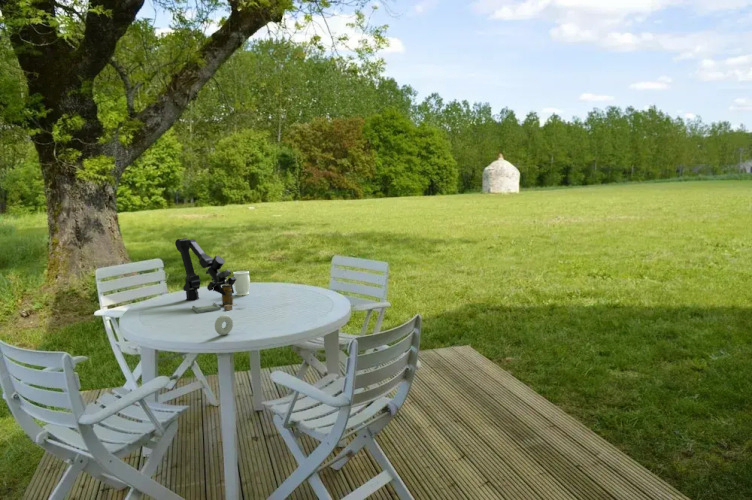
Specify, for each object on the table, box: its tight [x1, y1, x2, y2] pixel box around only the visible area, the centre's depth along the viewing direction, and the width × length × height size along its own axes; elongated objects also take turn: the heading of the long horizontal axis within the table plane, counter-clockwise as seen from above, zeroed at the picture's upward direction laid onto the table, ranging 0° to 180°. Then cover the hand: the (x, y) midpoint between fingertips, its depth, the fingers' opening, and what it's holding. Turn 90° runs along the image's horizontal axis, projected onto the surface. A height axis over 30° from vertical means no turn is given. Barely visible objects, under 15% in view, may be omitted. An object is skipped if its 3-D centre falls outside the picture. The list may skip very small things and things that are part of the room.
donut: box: [214, 314, 234, 336], centre depth 269 cm, size 10×3×10 cm, turn 143°
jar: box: [232, 270, 251, 297], centre depth 362 cm, size 11×10×15 cm
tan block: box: [223, 305, 233, 311], centre depth 322 cm, size 4×3×2 cm
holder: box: [191, 302, 221, 314], centre depth 324 cm, size 13×13×2 cm
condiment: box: [219, 284, 237, 307], centre depth 334 cm, size 7×8×12 cm
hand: (229, 294), depth 333 cm, fingers closed on condiment, 6 cm apart
